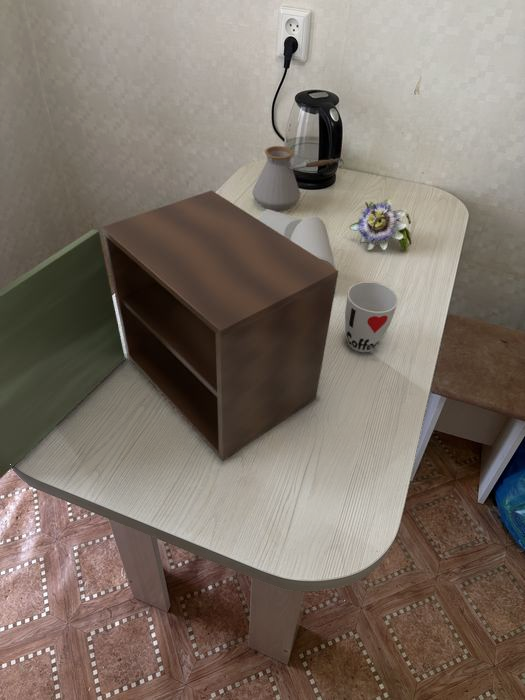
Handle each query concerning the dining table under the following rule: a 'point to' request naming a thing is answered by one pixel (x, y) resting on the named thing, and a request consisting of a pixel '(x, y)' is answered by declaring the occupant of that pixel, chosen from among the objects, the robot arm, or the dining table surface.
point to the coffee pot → (281, 179)
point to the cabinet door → (54, 343)
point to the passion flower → (382, 225)
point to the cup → (368, 314)
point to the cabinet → (221, 315)
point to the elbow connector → (301, 233)
